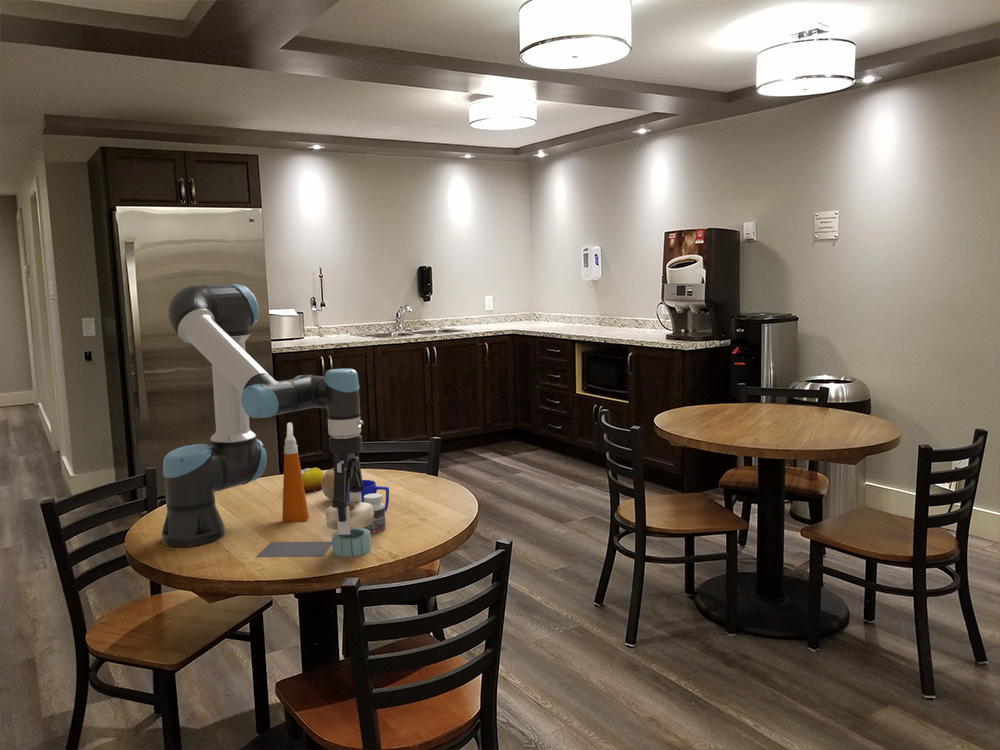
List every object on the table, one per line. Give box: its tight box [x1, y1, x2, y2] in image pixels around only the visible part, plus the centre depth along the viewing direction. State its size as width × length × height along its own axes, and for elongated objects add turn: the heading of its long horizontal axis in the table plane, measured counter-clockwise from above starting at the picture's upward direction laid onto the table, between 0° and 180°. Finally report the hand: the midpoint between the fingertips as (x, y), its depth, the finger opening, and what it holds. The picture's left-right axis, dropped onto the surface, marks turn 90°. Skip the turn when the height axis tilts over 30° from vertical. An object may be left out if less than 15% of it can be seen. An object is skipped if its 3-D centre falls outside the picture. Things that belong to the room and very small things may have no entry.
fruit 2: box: [321, 467, 334, 501], centre depth 232 cm, size 10×11×10 cm
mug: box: [348, 479, 390, 513], centre depth 212 cm, size 8×12×10 cm
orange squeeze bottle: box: [281, 422, 310, 523], centre depth 214 cm, size 7×11×26 cm, turn 14°
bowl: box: [331, 528, 372, 558], centre depth 187 cm, size 9×9×5 cm
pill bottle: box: [363, 492, 387, 534], centre depth 201 cm, size 6×6×10 cm
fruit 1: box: [301, 467, 325, 494], centre depth 246 cm, size 11×10×8 cm
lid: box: [325, 502, 374, 531], centre depth 186 cm, size 11×11×5 cm
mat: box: [255, 541, 332, 558], centre depth 189 cm, size 16×10×1 cm, turn 86°
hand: (350, 525), depth 186 cm, fingers closed on lid, 11 cm apart
